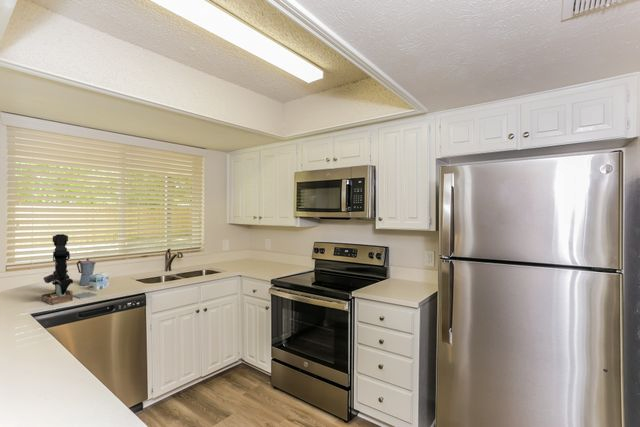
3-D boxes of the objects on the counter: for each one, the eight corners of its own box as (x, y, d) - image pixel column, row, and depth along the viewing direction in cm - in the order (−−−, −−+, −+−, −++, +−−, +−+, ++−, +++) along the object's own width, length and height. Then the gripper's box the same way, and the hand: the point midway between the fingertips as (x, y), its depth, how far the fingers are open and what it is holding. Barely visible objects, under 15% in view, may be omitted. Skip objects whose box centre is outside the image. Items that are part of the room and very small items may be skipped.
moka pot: (91, 285, 245) (91, 259, 245) (71, 285, 245) (71, 259, 245) (100, 283, 254) (100, 257, 254) (80, 283, 255) (80, 257, 254)
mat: (71, 295, 216) (71, 295, 216) (88, 292, 225) (88, 292, 225) (79, 298, 210) (79, 297, 210) (97, 295, 218) (97, 294, 218)
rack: (41, 300, 204) (41, 291, 204) (61, 297, 213) (61, 288, 213) (52, 304, 196) (52, 294, 196) (72, 300, 205) (72, 291, 205)
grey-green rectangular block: (56, 300, 206) (56, 284, 206) (61, 298, 209) (61, 283, 209) (60, 301, 203) (60, 285, 203) (65, 300, 206) (65, 284, 206)
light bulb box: (96, 290, 231) (96, 275, 231) (89, 290, 232) (88, 275, 232) (109, 287, 241) (109, 272, 241) (101, 286, 243) (101, 272, 243)
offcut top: (50, 298, 205) (50, 294, 205) (55, 297, 207) (55, 294, 207) (51, 300, 199) (51, 297, 199) (57, 299, 201) (57, 296, 201)
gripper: (39, 269, 204) (39, 294, 204) (51, 272, 194) (51, 298, 194) (60, 267, 213) (60, 290, 214) (73, 269, 204) (73, 294, 204)
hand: (61, 293), depth 206 cm, fingers closed on grey-green rectangular block, 5 cm apart
